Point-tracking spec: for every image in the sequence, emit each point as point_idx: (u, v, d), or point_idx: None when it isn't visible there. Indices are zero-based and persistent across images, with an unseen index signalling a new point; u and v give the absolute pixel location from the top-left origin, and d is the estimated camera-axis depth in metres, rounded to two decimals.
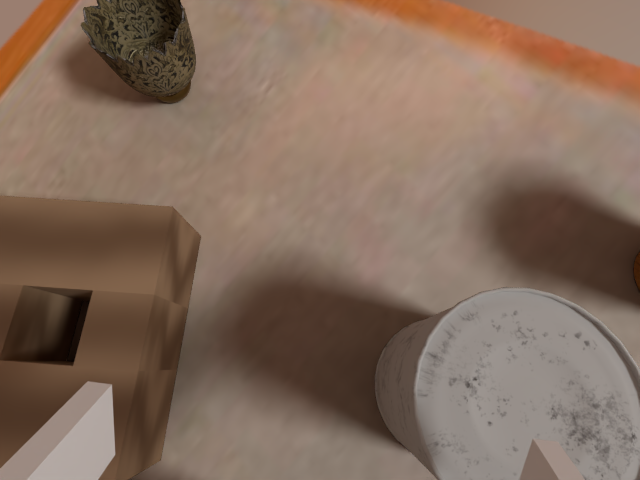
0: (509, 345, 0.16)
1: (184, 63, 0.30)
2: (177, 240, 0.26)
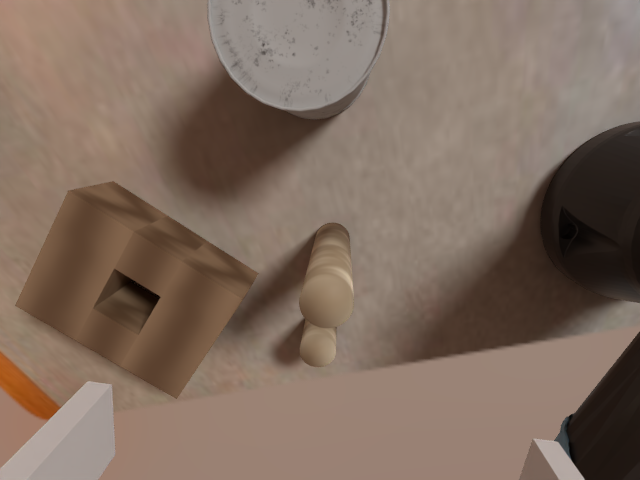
0: (255, 0, 0.20)
1: None
2: (102, 199, 0.31)
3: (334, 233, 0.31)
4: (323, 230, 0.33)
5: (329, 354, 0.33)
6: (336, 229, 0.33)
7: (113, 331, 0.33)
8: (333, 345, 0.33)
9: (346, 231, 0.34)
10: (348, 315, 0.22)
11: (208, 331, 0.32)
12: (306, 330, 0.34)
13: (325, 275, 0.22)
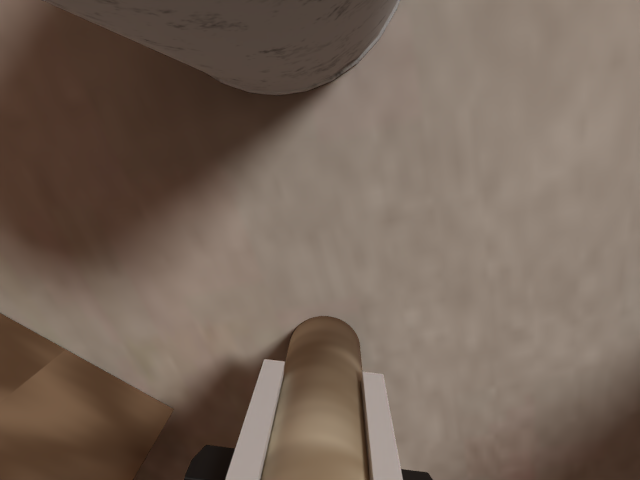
0: None
1: None
2: None
3: (328, 372, 0.13)
4: (302, 347, 0.15)
5: None
6: (332, 346, 0.14)
7: None
8: None
9: (353, 338, 0.16)
10: None
11: None
12: None
13: None
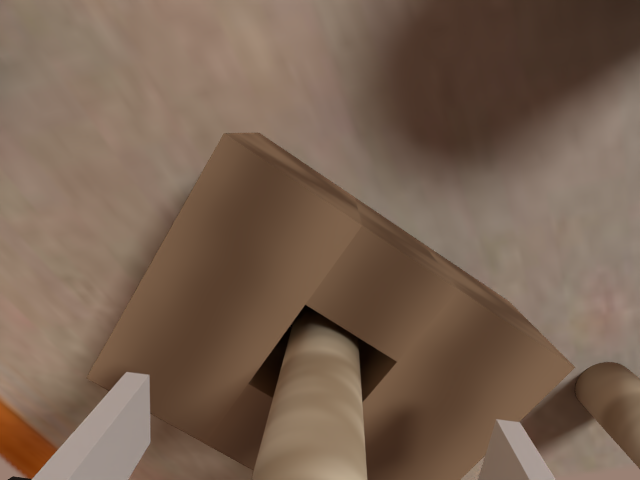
0: None
1: None
2: (275, 159, 0.15)
3: None
4: None
5: None
6: None
7: None
8: None
9: None
10: None
11: (484, 428, 0.16)
12: (633, 411, 0.18)
13: None
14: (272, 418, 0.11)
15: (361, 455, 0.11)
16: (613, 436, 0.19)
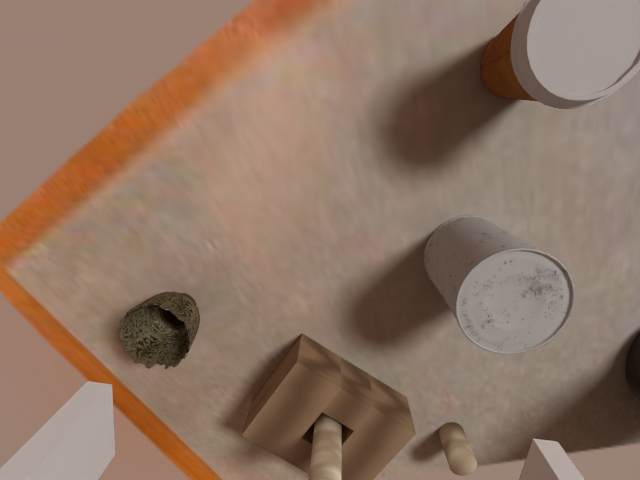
0: (487, 293, 0.31)
1: (190, 310, 0.41)
2: (311, 360, 0.43)
3: None
4: None
5: (471, 467, 0.45)
6: None
7: None
8: (475, 461, 0.45)
9: None
10: None
11: (386, 454, 0.44)
12: (450, 446, 0.46)
13: None
14: (314, 453, 0.39)
15: (339, 464, 0.38)
16: None
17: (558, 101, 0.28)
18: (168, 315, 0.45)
